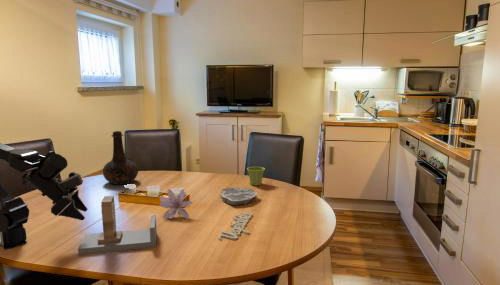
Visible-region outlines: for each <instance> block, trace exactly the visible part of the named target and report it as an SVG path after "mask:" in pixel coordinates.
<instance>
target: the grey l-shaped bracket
mask: <svg viewBox="0 0 500 285" xmlns="http://www.w3.org/2000/svg"><path fill="white" fill-rule="evenodd" d="M121 231H122V237H121V241H120V242H109V243H98V238H99V236H100V234H101V232H99V233H98V232H97V233H86V234H85V235H84V237H83V239H82V241H81V242H80V244H79V246H78V248H77V253H78V255H79V256H80V255H88V254H97V253H98V254H99V253H108V252H119V251H121V252H122V251H128V250H129V251H130V250H138V249H149V248H156V247H157V246H156V245H157V234H158V233H157V215H156V214H155V215H152V214H151V215H150V223H149V228H143V229H141V228H140V229H131V230H121Z"/></svg>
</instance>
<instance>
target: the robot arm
mask: <svg viewBox="0 0 500 285" xmlns="http://www.w3.org/2000/svg"><path fill="white" fill-rule="evenodd" d="M0 160H2V161H5V162H6V163H7V164H8V166H9V167H10V168H12V169H13V170H15V171H16V172H18V173H23V172H25V173H24V174H22V175H21V185H22V186H25V185H26V184H27V183H29V184H31V185H32V186H33V187H34V188H35V189H37V190H38V191H39V192H40V193H41V196H42V197H45V196H46V198H48V199H49V200H51V201H52V205H51V207H50V213H51V214H53V215H54V216H55V217H56V216H58V217H60V216H61V217H65V218H70V219H75V220H79V221H84V220H86V217H85V216H84V215H83V213H82V212H87V211H88V207H87V206H86V205H85V204H84V202H83V200H82V199H81V198H80V196H79V191H80V190H79V186H81V185H82V184H83V183H84V181H83V179H82V176H81V174H80V173H78V172H77V173H76V172H75V171H72V172H69V174H68V177H66V178H65V179H63V180H62V179H61V178H56V177H57V176H58V175H59V174H60V173H61V172H63V171H64V170H65V169H66V168H67V167H68V160H67V159H66V157H64V156H63V155H61V154H59V153H56V152H55V151H54V150H52V151H49V152H47V153H46V154H45V155H41V154H40V153H39V152H38V151H36V150H31V149H19V148H14V147H12V146H9V145H7V144H4V143H1V142H0ZM30 170H31V171H30ZM27 171H29V173H26V172H27ZM81 211H82V212H81ZM29 216H30V209H29V206H28V203H26V202H24V200H23V198H22V197H20V196H19V197H15V198H14V197H13V196H11V195H10V193H8V191H7V190H6V189H5V188H4V187H3V185H2V184H1V183H0V246H1V247H2V248H3V249H4V250H9V249H12V248H16V247H19V246H23V245H26V244H27V243H28V242H27V232H26V228H25V227H24V224H27V223H28V220H29Z"/></svg>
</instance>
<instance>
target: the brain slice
mask: <svg viewBox="0 0 500 285" xmlns="http://www.w3.org/2000/svg"><path fill="white" fill-rule="evenodd" d="M257 196H258V192H257V191H254V189H252V188H248V187H247V188H245V187H244V188H243V187H226V188H222V189H221V194H220V197H221V200H222V201H223V202H224V203H226V202H227V204H228V205H230V206H238V205H247V204H249V203H250V202H251V201H252V200H253V199H255V198H256V197H257Z"/></svg>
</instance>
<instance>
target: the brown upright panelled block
mask: <svg viewBox="0 0 500 285" xmlns="http://www.w3.org/2000/svg"><path fill="white" fill-rule="evenodd" d="M100 204H101V205H100V207H101V219H102V220H101V221H102V232H100V233H101V234H100V236H99V238H98V243H109V242H120V241H121V237H122V231H123V230H117V219H116V218H117V217H116V202H115V197H114V195H104V197H103V198H102V200H101V202H100Z"/></svg>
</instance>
